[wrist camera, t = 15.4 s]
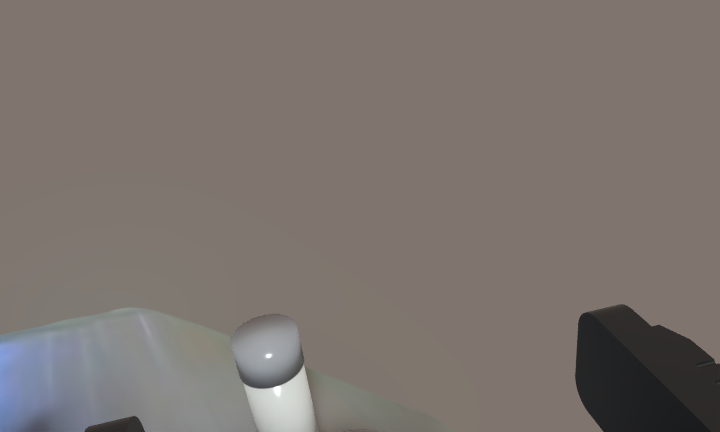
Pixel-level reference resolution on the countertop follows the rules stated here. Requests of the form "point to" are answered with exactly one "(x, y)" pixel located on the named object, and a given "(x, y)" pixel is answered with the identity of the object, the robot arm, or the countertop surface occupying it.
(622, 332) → the robot arm
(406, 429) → the countertop surface
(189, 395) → the countertop surface
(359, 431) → the fuse marked
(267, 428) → the fuse
